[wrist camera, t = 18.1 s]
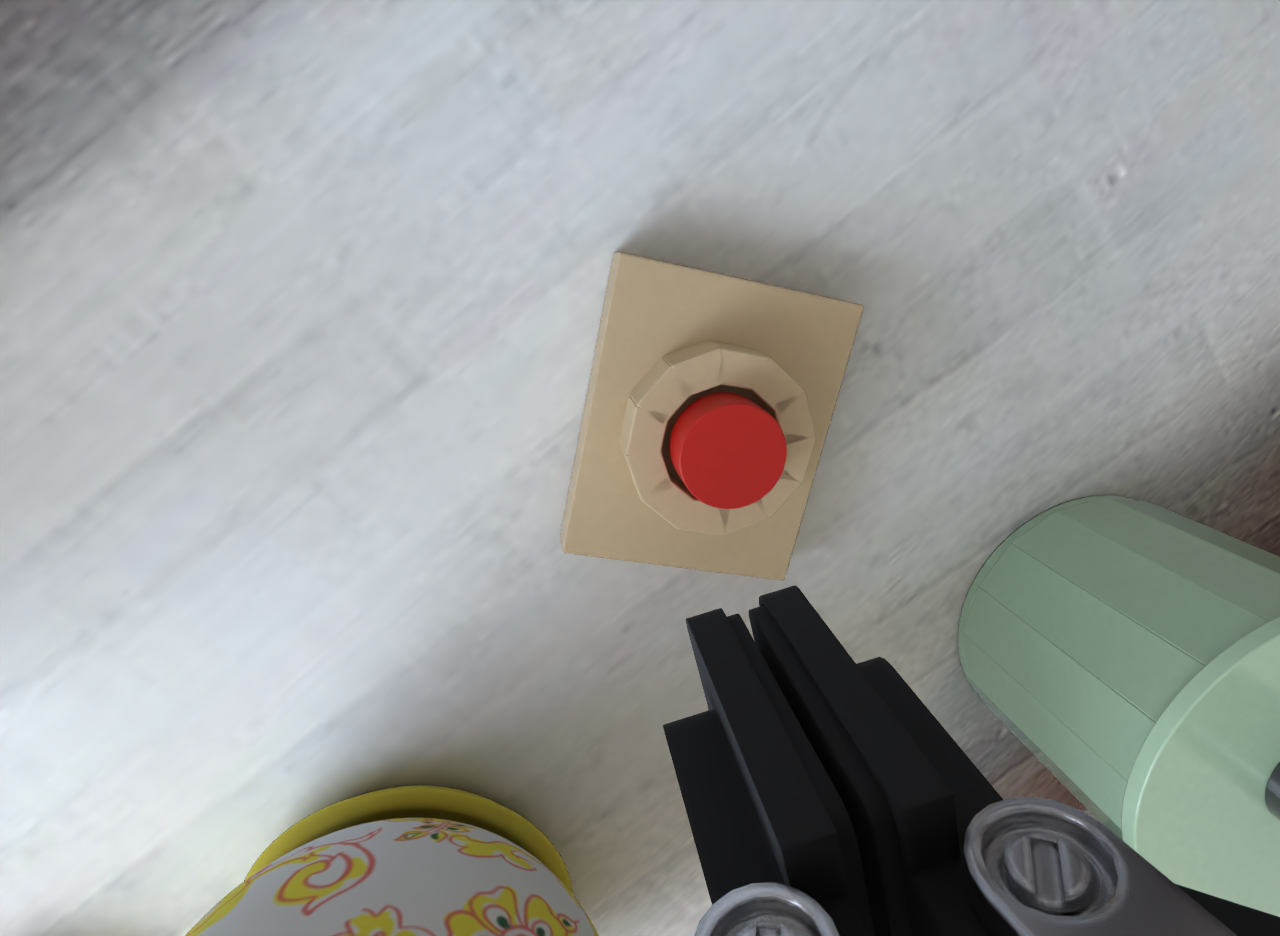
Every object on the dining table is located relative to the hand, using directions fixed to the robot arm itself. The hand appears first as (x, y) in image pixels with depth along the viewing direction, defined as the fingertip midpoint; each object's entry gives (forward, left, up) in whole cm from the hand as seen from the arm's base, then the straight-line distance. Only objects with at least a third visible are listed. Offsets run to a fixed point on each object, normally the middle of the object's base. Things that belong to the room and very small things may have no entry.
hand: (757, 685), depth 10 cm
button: (0, +3, -14) cm, 14 cm away
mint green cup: (+6, +23, -17) cm, 30 cm away
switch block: (0, +3, -17) cm, 18 cm away
